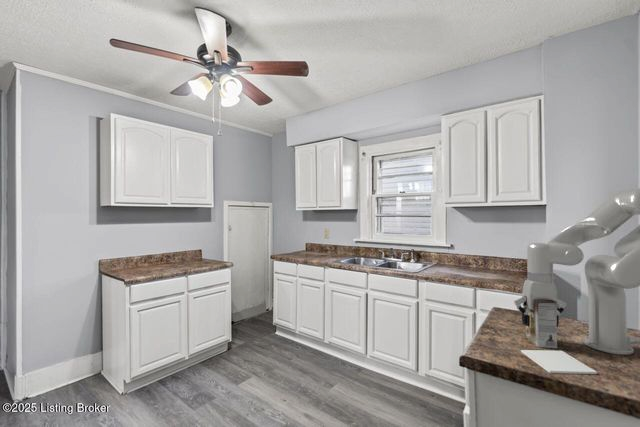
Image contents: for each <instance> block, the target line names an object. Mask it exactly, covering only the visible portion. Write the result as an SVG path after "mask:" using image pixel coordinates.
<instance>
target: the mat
mask: <svg viewBox="0 0 640 427" xmlns="http://www.w3.org/2000/svg"><path fill="white" fill-rule="evenodd" d="M520 352H521V353H522V354H523V355H525V356H526V357H528V358H529V359H530V360H532V361H533V362H534V363H536V364H537V365H538V366H539V367H541V368H542V369H544V370H545V371H546V372H548V373H549V374H571V375H572V374H574V375H575V374H577V375H578V374H580V375H598V371H596V370H595V369H593V368H591V367H590V366H588V365H586V364H585V363H583V362H581V361H580V360H578V359H576V358H574V357H573V356H572V355H570V354H568V353H566V352H565V351H563V350H550V349H549V350H548V349H547V350H541V349H540V350H538V349H537V350H536V349H521V350H520Z"/></svg>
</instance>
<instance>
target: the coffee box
mask: <svg viewBox="0 0 640 427" xmlns="http://www.w3.org/2000/svg"><path fill="white" fill-rule="evenodd" d="M528 315H529V316H530V326H526V325H525V326H526V329H525V330H526V338H528V340H529V341H530V342H532V343H533V345H535V346H536V347H537V348H549V349H550V348H551V349H558V327H557V302H555V301H554V300H534V310H531V311H530V312H529V314H528Z"/></svg>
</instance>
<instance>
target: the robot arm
mask: <svg viewBox="0 0 640 427" xmlns="http://www.w3.org/2000/svg"><path fill="white" fill-rule="evenodd" d="M636 215H639V216H640V188H634V189H625V190H620V191H617V192H615V193H614V194H613V195H611V196H610V197H609V198H607V199H606V200H605V201H604V202H603V203H602V204H601V205H599V206H598V207H597V208H596V209H594V211H592V212H591V213H590V214H588V215H587V216H586V217H585V218H583V219H581V220H579V221H577V222H576V223H574V224H572V225H570V226H568V227H566V228H565V229H563V230H561V231H560V232H559V233H558V234H556V235H555V236H554V237H553V238H551V239H550V240H549V241H548V242H547V243H540V242H531V243H529V244H528V245H527V248H526V249H527V252H526V254H527V256H526V258H527V263H526V264H527V267H526V268H527V269H526V270H527V271H526V272H527V279H524V283H523V286H522V291H521V292H522V293H521V297H520V298H518V299H516V300H514V302H513V303H514V305H515V306H516V309H517V310H518V311H519V312H520V313H521V322H522V324H523V325H525V326H530V316H529V315H528V314H529V312H530V311H531V310H534V300H554V301H555V302H557V328H559V319H560V318H559V317H560V316H561V314H562V313H563V312H564V310H565V308H566V306H567V303H566V302H565V301H563V300H561V299H559V298H558V291H557V286H556V282H554V279H557V274H554V265H559V266H560V265H562V266H567V267H568V266H569V267H570V266H571V267H572V266H576V265H579V264H581V262H583V260H584V257H585V256H584V255H585V254H584V252H583V250H582V249H581V248H580V247H579V246H580V245H582V244H585V243H587V242H590V241H593V240H598V239H599V240H600V239H602V238H605V237H608V236H610V235H611V234H613V233H614V232H615V231H616V230H618V229H619V228H620V227H621V226H623V225H624V224H626V223H627V221H629V220H630V219H631V218H633V217H634V216H636ZM613 251H614V253H615V255H616V256H614V255H608V254H607V255H606V254H597V255H596V254H595V255H594V256H591V257H588V258H589V259H587V261H585V265H584V274H585V278H586V283H587V290H588V291H587V292H588V293H587V295H588V301H587V302H588V303H587V304H588V336H585V337H584V338H582V339H583V340H582V341H583V344H584V345H586V346H587V347H590V348H592V349H594V350H597V351H599V352H604V353H608V354H615V355H623V356H624V355H632V354H634V347H632V344H640V337H630V335H628V333H627V330H628V328H627V297H626V291H625V290H628V289H629V290H631V289H636V288H639V287H640V224H638V226H636V227H635V228H634V229H632V230H631V231H630V232H628V233H627V234H625V236H623V237H622V238H620V239H619V240H618V241H616V243H615V244H614V247H613ZM522 306H523V307H522Z"/></svg>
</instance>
